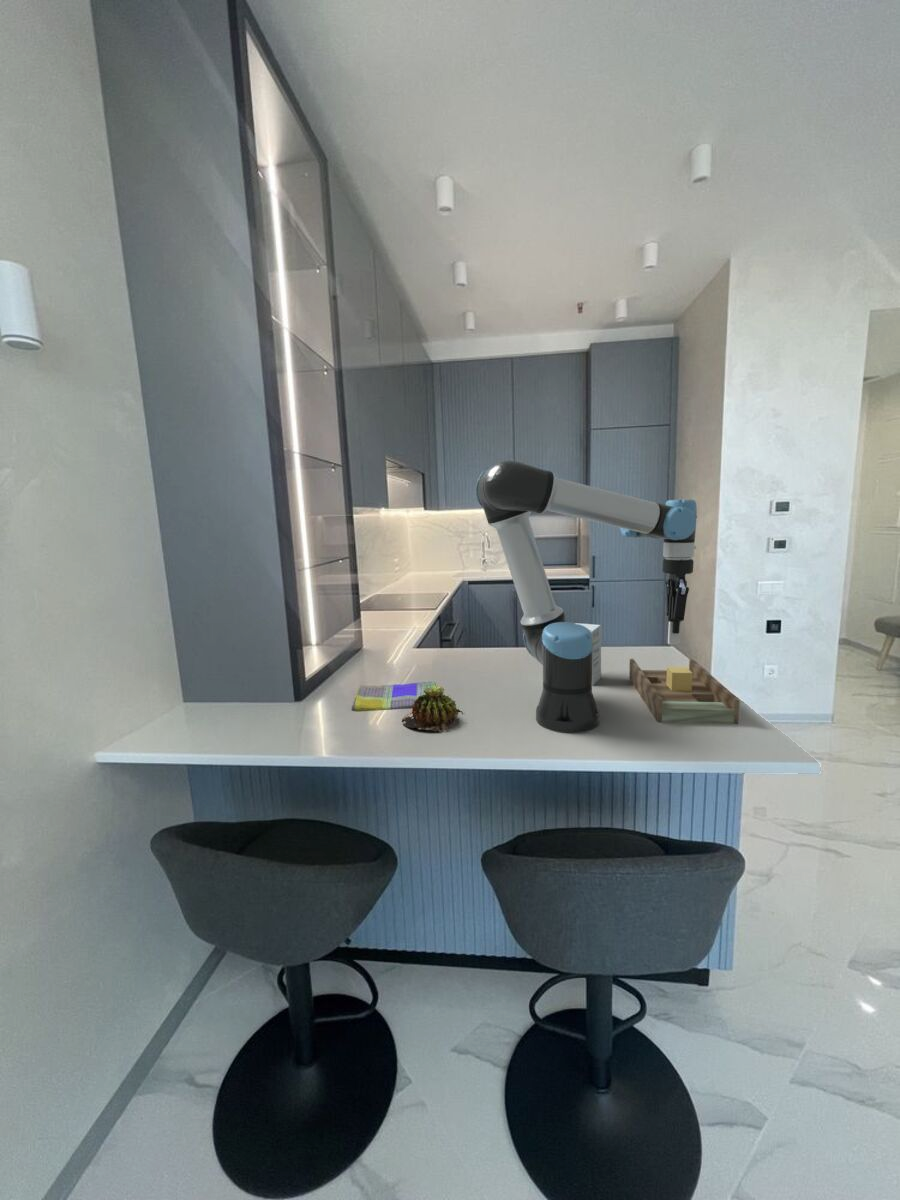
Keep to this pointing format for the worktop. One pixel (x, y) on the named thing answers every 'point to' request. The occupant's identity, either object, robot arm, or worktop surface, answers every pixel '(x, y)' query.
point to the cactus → (433, 711)
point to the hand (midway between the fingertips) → (673, 643)
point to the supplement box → (595, 651)
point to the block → (679, 679)
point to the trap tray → (685, 697)
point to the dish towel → (388, 696)
